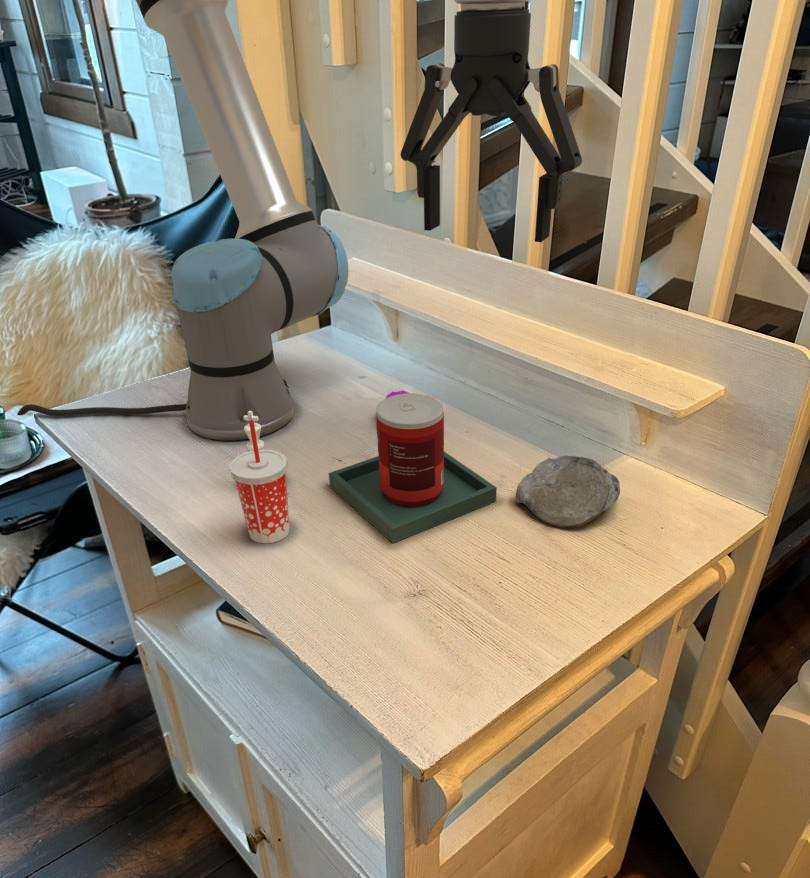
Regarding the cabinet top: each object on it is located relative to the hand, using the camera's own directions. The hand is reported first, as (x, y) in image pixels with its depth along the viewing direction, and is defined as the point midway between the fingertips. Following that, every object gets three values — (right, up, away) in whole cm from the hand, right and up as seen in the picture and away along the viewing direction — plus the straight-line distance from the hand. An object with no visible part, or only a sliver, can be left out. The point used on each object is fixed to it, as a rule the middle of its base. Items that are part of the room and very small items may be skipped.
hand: (485, 233), depth 87 cm
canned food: (-8, -29, +5) cm, 31 cm away
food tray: (-8, -30, +5) cm, 31 cm away
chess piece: (-27, -28, +8) cm, 40 cm away
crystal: (-10, -19, +21) cm, 29 cm away
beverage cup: (-25, -34, 0) cm, 42 cm away
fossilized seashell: (+10, -31, +2) cm, 33 cm away
